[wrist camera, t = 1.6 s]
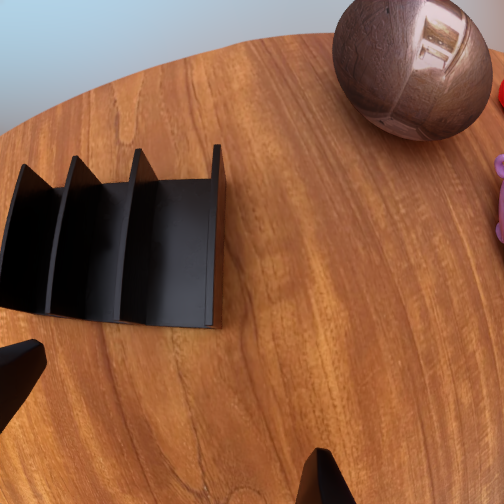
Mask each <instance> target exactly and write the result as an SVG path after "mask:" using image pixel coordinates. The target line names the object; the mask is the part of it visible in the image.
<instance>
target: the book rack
mask: <svg viewBox="0 0 504 504" xmlns="http://www.w3.org/2000/svg"><path fill="white" fill-rule="evenodd" d="M225 206H226V175H225V169H224V162H223V156H222V149H221V145H220V144H215V145H214V147H213V160H212V173H211V179H181V180H158V178H157V177H156V175H155V173H154V171H153V169H152V167H151V166H150V164H149V162H148V160H147V158H146V156H145V154H144V153H143V151H142V149H141V148H139V149H135V153H134V158H133V163H132V168H131V173H130V178H129V182H120V183H106V184H102V183H101V182H100V181H99V180H98V179H97V178H96V176H95V175H94V174H93V173H92V172H91V171H90V169H89V168H88V167H87V166H86V165H85V164H84V162H83V161H82V160H81V159H80V158H79V156H73V157H72V161H71V164H70V168H69V171H68V175H67V179H66V183H65V187H61V188H52V187H51V186H50V185H49V184H48V183H46V182H45V181H44V180H43V179H42V178H41V177H40V176H39V175H37V174H36V173H35V172H34V171H33V170H32V169H31V168H30V167H29V166H27V165H26V164H22V166H21V169H20V173H19V176H18V179H17V182H16V186H15V189H14V193H13V197H12V200H11V204H10V208H9V212H8V217H7V221H6V225H5V230H4V235H3V240H2V245H1V251H0V307H2V308H6V309H11V310H16V311H21V312H26V313H31V314H37V315H44V316H52V317H60V318H68V319H77V320H86V321H96V322H107V323H118V324H131V325H145V326H160V327H179V328H204V329H222V304H223V263H224V232H225Z"/></svg>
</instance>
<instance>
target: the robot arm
mask: <svg viewBox="0 0 504 504" xmlns="http://www.w3.org/2000/svg"><path fill="white" fill-rule="evenodd" d="M46 365H47V359H46V354H45V348H44V345H43V344H42V343H41V342H39V341H37V340H35V339H31V340H27V341H23V342H20V343H16V344H13V345H9V346H5V347H2V348H0V434H1V433H2V431H3V430H4V429H5V427H6V426H7V424H8V423H9V422H10V420H11V419H12V418H13V416H14V415H15V414H16V412H17V411H18V410H19V408H20V407H21V406H22V404H23V403H24V402H25V400H26V399H27V397H28V396H29V394H30V392H31V391H32V389H33V387H34V386H35V384H36V382H37V381H38V379H39V378H40V376H41V374H42V373H43V371H44V370H45V368H46ZM295 504H356V502H355V500H354V498H353V496H352V494H351V492H350V490H349V488H348V486H347V484H346V482H345V480H344V478H343V476H342V474H341V472H340V470H339V468H338V466H337V464H336V462H335V459H334V457H333V455H332V453H331V451H330V450H328V449H324V448H315V449H314V451H313V452H312V453H311V455H310V456H309V457H308V459H307V460H306V462H305V464H304V467H303V472H302V476H301V481H300V485H299V490H298V494H297V498H296V503H295Z"/></svg>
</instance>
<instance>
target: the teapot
mask: <svg viewBox="0 0 504 504" xmlns="http://www.w3.org/2000/svg"><path fill="white" fill-rule="evenodd" d="M502 162H504V154H501V155H499V156H497V157H496V159H495V162H494V167H495V170H496V173H497V174H498V176H499V177H501V178H503V179H504V166H503V164H502ZM496 234H497V237H498V239H499V240H500V241H501V242H502V243H504V180H503V182H502V185H501V189H500V196H499V223H497V225H496Z"/></svg>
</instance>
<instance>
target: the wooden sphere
mask: <svg viewBox="0 0 504 504" xmlns="http://www.w3.org/2000/svg"><path fill="white" fill-rule="evenodd" d="M332 54H333V63H334V68H335V72H336V75H337V78H338V81H339V83H340V85H341V87H342V89H343V91H344V93H345V94H346V96H347V98H348V99H349V100H350V102H351V103H352V104H353V106H354V107H355V108H356V109H357V110H358V111H359V112H360V113H361V114H362V115H363V116H364V117H365V118H366V119H368V120H369V121H370V122H371V123H373V124H374V125H376V126H377V127H379V128H381V129H382V130H384V131H386V132H388V133H390V134H393V135H395V136H398V137H401V138H405V139H410V140H416V141H435V140H441V139H445V138H449V137H451V136H454V135H456V134H458V133H460V132H462V131H463V130H465V129H466V128H468V127H469V126H470V125H471V124H473V123H474V122H475V121H476V119H477V118H478V117H479V116H480V114H481V113H482V111H483V110H484V108H485V106H486V104H487V102H488V99H489V96H490V93H491V88H492V80H493V71H492V62H491V57H490V54H489V50H488V47H487V45H486V42H485V40H484V38H483V36H482V34H481V33H480V31H479V29H478V28H477V26H476V25H475V24H474V22H473V21H472V20H471V19H470V18H469V16H468V15H467V14H466V13H465V12H463V10H462V9H460V8H459V7H458V6H457V5H455V4H454V3H453V2H451V1H450V0H355V1H354V2H353V3H352V4H351V5H350V6H349V7H348V8H347V9H346V10H345V12H344V13H343V15H342V16H341V18H340V20H339V22H338V25H337V27H336V30H335V33H334V38H333V46H332Z"/></svg>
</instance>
